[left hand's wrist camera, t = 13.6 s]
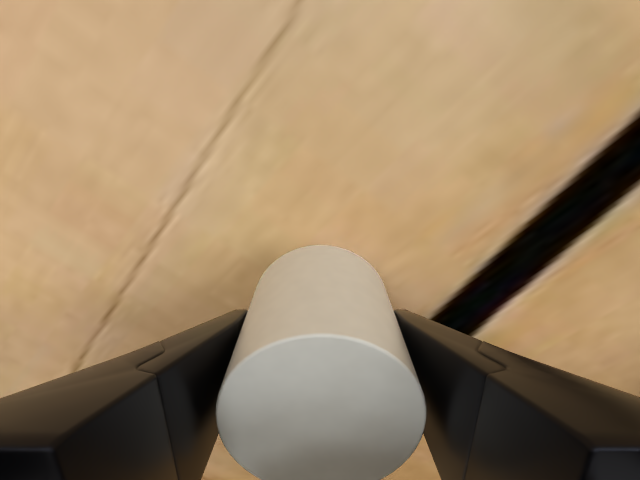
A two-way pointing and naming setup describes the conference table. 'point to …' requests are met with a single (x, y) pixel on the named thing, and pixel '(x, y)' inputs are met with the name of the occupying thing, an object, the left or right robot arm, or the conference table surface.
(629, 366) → the conference table surface
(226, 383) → the can
